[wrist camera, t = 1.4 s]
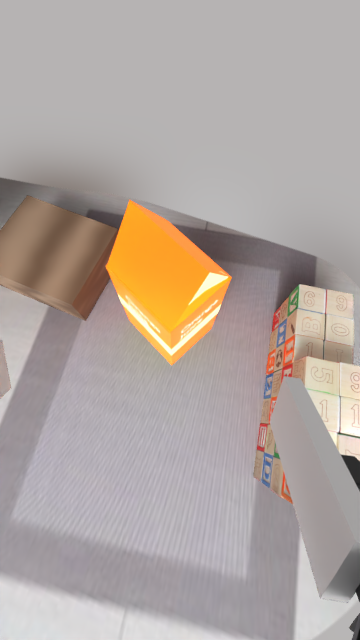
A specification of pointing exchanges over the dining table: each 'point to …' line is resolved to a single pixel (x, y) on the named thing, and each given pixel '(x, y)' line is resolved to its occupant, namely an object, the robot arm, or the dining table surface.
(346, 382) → the stack of blocks
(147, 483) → the dining table surface
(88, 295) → the base brick
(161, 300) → the orange juice
